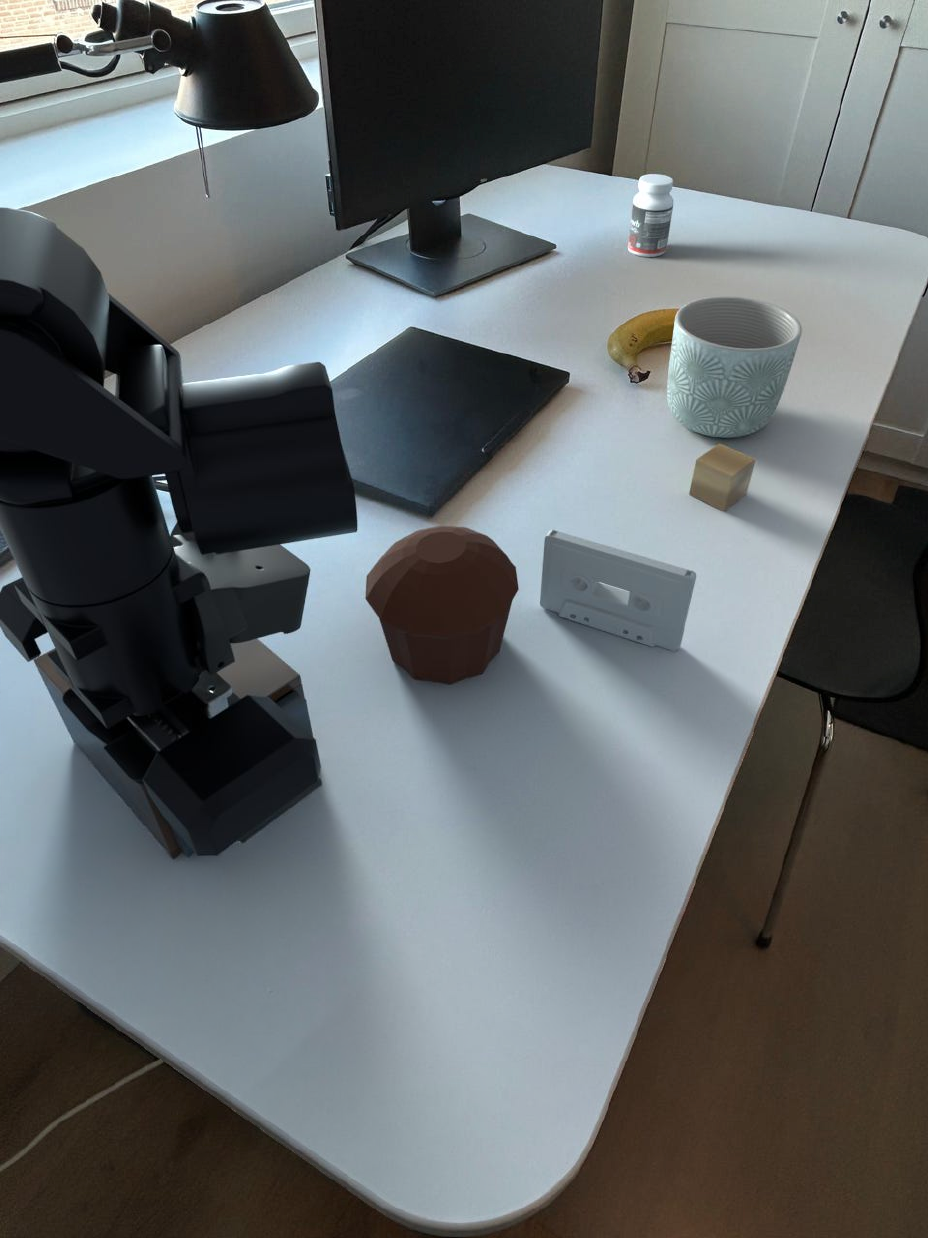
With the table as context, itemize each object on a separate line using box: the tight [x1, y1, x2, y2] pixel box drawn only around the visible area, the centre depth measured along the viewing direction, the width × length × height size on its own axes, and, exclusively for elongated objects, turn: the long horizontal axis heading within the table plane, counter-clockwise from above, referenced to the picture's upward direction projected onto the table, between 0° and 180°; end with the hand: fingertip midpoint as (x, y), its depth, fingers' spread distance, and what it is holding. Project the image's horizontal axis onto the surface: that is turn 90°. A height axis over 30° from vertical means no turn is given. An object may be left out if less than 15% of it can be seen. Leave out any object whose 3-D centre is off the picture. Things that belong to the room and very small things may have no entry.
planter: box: [666, 295, 803, 439], centre depth 92 cm, size 12×12×11 cm
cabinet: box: [33, 638, 306, 860], centre depth 60 cm, size 14×12×9 cm
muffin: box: [365, 525, 520, 686], centre depth 67 cm, size 12×11×10 cm
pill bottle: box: [627, 173, 674, 258], centre depth 126 cm, size 6×6×10 cm
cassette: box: [539, 529, 697, 652], centre depth 69 cm, size 12×2×8 cm, turn 63°
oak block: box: [688, 443, 757, 512], centre depth 84 cm, size 4×4×4 cm
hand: (186, 790), depth 46 cm, fingers closed
